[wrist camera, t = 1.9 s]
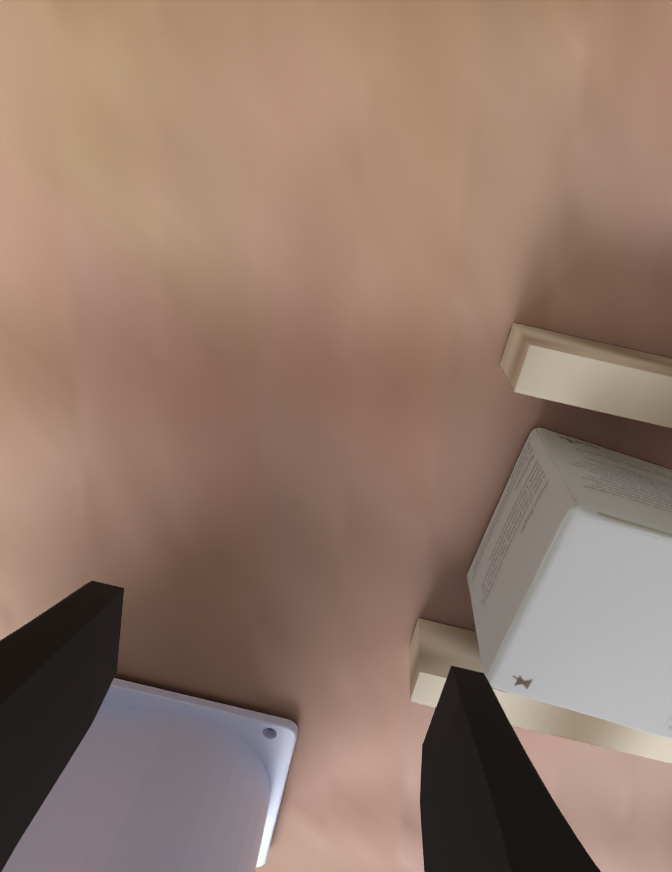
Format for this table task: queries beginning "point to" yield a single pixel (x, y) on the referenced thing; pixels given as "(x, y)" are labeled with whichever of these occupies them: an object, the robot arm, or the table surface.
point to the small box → (580, 583)
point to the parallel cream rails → (587, 388)
